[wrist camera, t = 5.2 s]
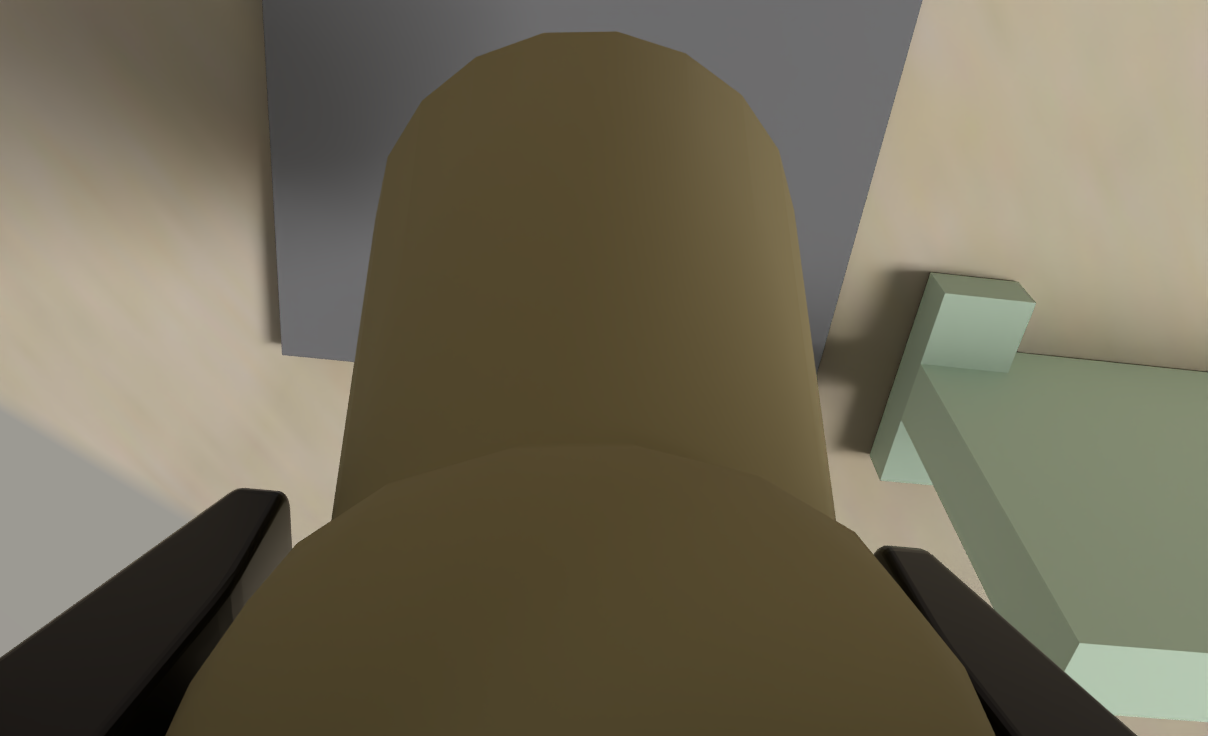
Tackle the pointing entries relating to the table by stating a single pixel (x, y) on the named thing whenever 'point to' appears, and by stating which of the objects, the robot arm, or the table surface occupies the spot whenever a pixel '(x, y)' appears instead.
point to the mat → (517, 12)
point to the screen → (1064, 492)
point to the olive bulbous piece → (583, 445)
